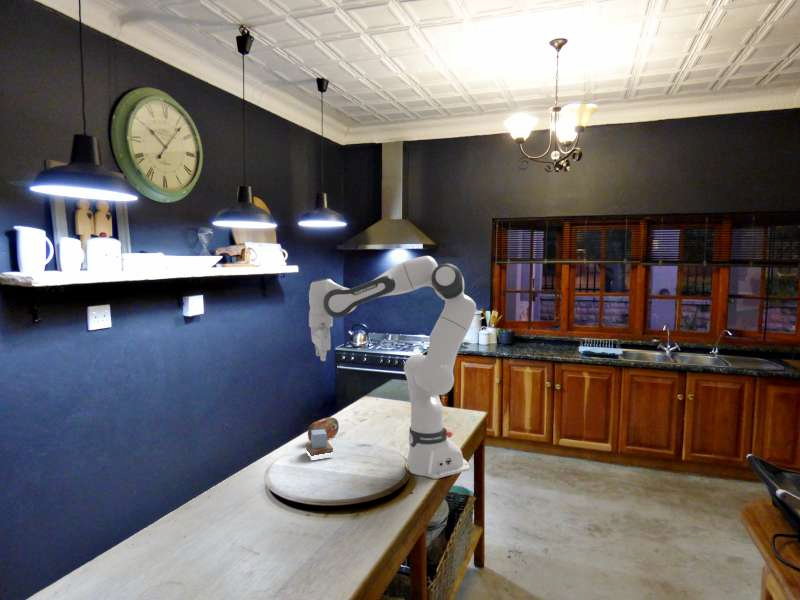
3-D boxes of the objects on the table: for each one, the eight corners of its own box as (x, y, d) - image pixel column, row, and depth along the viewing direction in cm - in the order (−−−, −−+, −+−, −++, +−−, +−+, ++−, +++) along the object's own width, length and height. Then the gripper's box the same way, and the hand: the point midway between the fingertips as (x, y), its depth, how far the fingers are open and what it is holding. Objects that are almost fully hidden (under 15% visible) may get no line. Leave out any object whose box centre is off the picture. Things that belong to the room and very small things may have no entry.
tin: (311, 446, 187) (311, 425, 187) (306, 444, 189) (306, 423, 189) (339, 435, 199) (339, 415, 199) (333, 434, 201) (333, 414, 201)
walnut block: (326, 450, 184) (327, 440, 184) (332, 458, 177) (332, 447, 177) (306, 453, 181) (306, 443, 181) (311, 461, 174) (311, 451, 173)
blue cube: (324, 441, 182) (324, 429, 182) (326, 446, 178) (326, 433, 177) (310, 443, 181) (311, 430, 180) (313, 448, 176) (313, 435, 175)
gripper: (335, 325, 173) (334, 363, 174) (324, 318, 192) (324, 352, 193) (317, 325, 171) (317, 364, 172) (308, 318, 190) (308, 353, 191)
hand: (320, 358), depth 183 cm, fingers open, 8 cm apart
